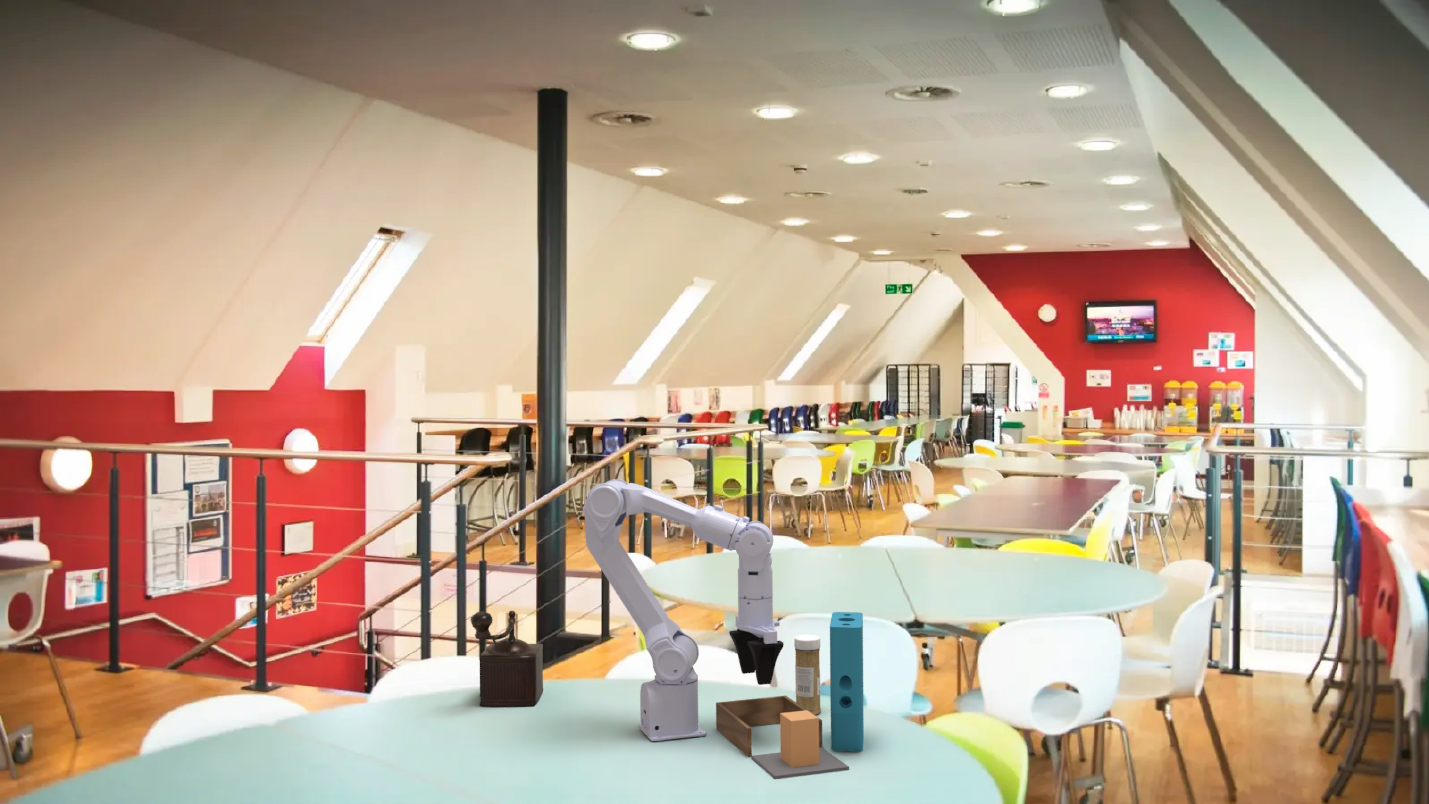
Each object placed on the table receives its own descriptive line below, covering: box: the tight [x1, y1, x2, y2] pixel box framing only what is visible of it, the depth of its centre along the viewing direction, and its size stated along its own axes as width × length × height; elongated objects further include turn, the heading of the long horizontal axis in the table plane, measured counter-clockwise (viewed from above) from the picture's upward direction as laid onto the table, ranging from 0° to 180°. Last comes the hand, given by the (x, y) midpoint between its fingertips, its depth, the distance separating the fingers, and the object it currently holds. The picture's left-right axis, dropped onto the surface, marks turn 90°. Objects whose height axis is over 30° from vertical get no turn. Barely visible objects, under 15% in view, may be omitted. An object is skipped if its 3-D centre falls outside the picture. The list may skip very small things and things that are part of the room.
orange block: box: [779, 710, 820, 767], centre depth 179 cm, size 4×4×7 cm
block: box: [829, 611, 865, 753], centre depth 189 cm, size 12×5×20 cm, turn 172°
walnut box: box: [715, 694, 823, 758], centre depth 192 cm, size 13×16×4 cm
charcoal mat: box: [750, 746, 850, 780], centre depth 179 cm, size 12×10×1 cm
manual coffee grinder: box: [470, 610, 544, 708], centre depth 215 cm, size 16×11×18 cm
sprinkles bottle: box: [793, 634, 822, 716], centre depth 206 cm, size 5×5×14 cm
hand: (756, 678), depth 194 cm, fingers open, 7 cm apart
